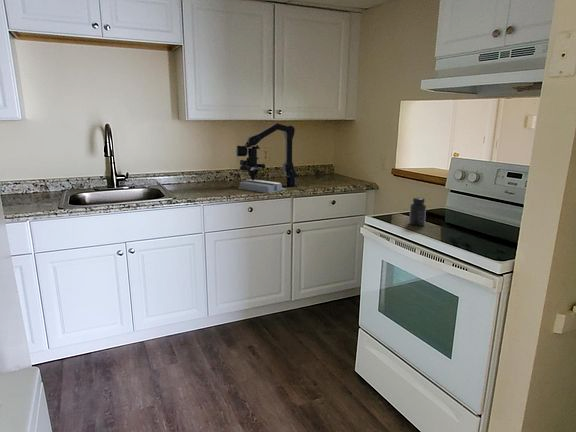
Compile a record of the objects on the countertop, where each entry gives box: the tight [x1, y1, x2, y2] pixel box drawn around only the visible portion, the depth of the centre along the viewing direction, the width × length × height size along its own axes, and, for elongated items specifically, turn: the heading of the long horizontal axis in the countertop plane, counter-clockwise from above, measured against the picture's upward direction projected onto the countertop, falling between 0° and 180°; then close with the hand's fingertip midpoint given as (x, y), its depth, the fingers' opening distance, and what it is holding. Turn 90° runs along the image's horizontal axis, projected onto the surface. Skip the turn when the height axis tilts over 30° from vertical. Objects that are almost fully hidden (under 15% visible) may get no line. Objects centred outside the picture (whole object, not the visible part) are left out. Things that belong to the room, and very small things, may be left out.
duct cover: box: [245, 178, 282, 184], centre depth 273 cm, size 6×24×1 cm, turn 53°
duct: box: [237, 180, 287, 194], centre depth 273 cm, size 17×26×4 cm, turn 53°
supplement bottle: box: [408, 196, 427, 227], centre depth 189 cm, size 7×7×12 cm
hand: (253, 180), depth 276 cm, fingers closed, pressing on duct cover
